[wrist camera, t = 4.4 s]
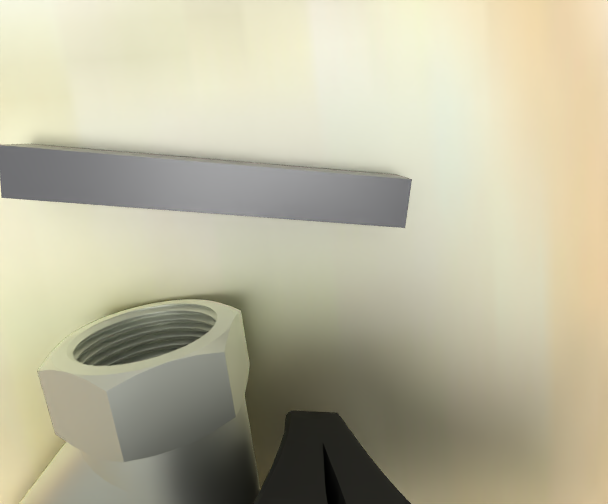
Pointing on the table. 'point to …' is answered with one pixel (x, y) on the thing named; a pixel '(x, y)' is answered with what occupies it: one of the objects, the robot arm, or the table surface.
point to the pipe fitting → (151, 409)
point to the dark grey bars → (202, 185)
